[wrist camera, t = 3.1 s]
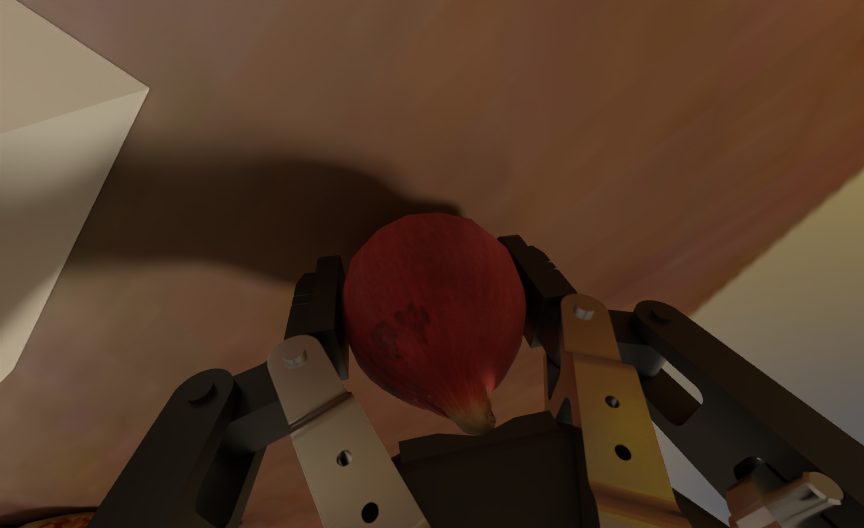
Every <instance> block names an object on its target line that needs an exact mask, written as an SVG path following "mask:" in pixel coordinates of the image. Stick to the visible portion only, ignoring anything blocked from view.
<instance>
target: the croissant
mask: <svg viewBox="0 0 864 528" xmlns="http://www.w3.org/2000/svg"><path fill="white" fill-rule="evenodd" d="M94 514H95V512H83V513H74V514H68V515H63V516H57V517H52V518H48V519H44V520H39V521H35V522H31V523H27V524H25V525H23V526H21V527H17V528H85V527H86V526H87V524H88V523H89V521H90V520H91V518H92V517H93V515H94ZM1 528H4V527H1ZM238 528H239V527H238Z"/></svg>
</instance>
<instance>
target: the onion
mask: <svg viewBox="0 0 864 528" xmlns="http://www.w3.org/2000/svg"><path fill="white" fill-rule="evenodd" d="M526 308H527V305H526V297H525V290H524V287H523V285H522V282H521V279H520V277H519V274H518V272H517V270H516V267H515V264H514V262H513V260H512V258H511V256H510V253H509V251H508V249H507V247H505V246H504V245H503V244H502V243H500V242H499V241H498V240H497V239H495V238H494V237H493V236H492V235H490V234H489V233H488V232H487V231H485V230H484V229H483V228H482V227H480V226H479V225H478V224H476V223H475V222H474V221H473V220H471V219H469V218H464V217H459V216H454V215H450V214H445V213H440V212H434V213H424V214H414V215H406V216H404V217H402V218H400V219H398V220H396V221H394V222H392V223H390V224H388V225H386V226H384V227H382V228H381V229H379V230H378V231H377V232H375V233H374V234H373V235H372V236H371V238H370V239H369V240H368V241H367V242H366V243H365V244H364V245H363V246H362V247H361V248H360V249H359V251H358V252H357V253H356V254H355V255H354V256H353V257H352V260H351V263H350V266H349V269H348V273H347V276H346V279H345V282H344V286H343V290H342V294H341V298H340V314H341V320H342V325H343V328H344V331H345V333H346V336H347V339H348V342H349V345H350V347H351V350H352V352H353V354H354V356H355V359H356V361H357V363H358V365H359V367H360V368H361V369H362V370H363V371H364V373H365V374H366V375H367V376H368V377H369V379H370V380H372V381H373V382H374V383H376V384H377V385H378V386H379V387H381V388H382V389H383V390H385V391H387V392H388V393H390V394H392V395H393V396H395V397H397V398H399V399H400V400H402V401H404V402H406V403H408V404H410V405H412V406H415V407H418V408H421V409H424V410H430V411H432V412H433V413H435V414H437V415H440V416H442V417H445V418H448V419H451V420H452V421H454V422H455V423H456V424H457V425H458V426H459V427H460V428H461V429H462V430H463V432H465V433H469V434H472V435H475V436H480V435H483V434H485V433H487V432H489V431H491V430H493V429H494V427H495V422H496V419H495V417H494V415H493V413H492V411H491V407H492V406H491V399H490V393H491V392H492V391H493V390H494V389H495V388H496V387H498V385H499V384H500V383H501V382H502V380H503V379H504V377H505V376H506V374H507V372H508V370H509V368H510V367H511V365H512V363H513V361H514V359H515V358H516V356H517V354H518V351H519V348H520V346H521V343H522V337H523V330H524V323H525V316H526Z"/></svg>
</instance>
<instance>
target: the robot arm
mask: <svg viewBox="0 0 864 528" xmlns="http://www.w3.org/2000/svg"><path fill="white" fill-rule="evenodd" d="M497 240H498V241H499V242H500V243H502V244H503V245H504V246H505V247H507V249H508V251H509V253H510V256H511V258H512V260H513V262H514V264H515V267H516V270H517V272H518V274H519V277H520V279H521V282H522V285H523V287H524V290H525V297H526V305H527V308H526V316H525V323H524V330H523V335H524V337H525V338H526V340H527V342H528V344H529V346H530V348H533V347H539V346H543V348H544V350H545V354H544V357H543V366H544V397H545V410H544V411H543V412H539V413H534V414H529V415H524V416H519V417H515V418H513V419H511V420H509V421H507V422H505V423H504V424H502V425H500V426H498V427H496V428H494V429H493V430H491V431H489V432H487V433H485V434H483V435H480V436H470V435H454V434H439V433H438V434H433V435H428V436H423V437H418V438H413V439H409V440H404V441H399V450H400V453H399V454H398V455H396V456H394V457H392V458H390V457H389V455H388V453H387V452H386V450H385V448H384V447H383V445H382V443H381V441H380V440H379V438H378V436H377V434H376V433H375V431H374V429H373V428H372V426H371V424H370V422H369V421H368V419H367V417H366V416H365V414H364V412H363V410H362V409H361V407H360V405H359V404H358V402H357V400H356V399H355V397H354V395H353V394H352V393H351V392H348V391H347V390H346V388H345V386H344V384H343V383H342V381H341V380H346V379H348V369H349V342H348V339H347V336H346V333H345V331H344V328H343V325H342V320H341V314H340V298H341V294H342V290H343V286H344V282H345V279H346V278H345V274H344V270H343V265H342V261H341V257H340V255H338V256H329V257H321V258H318V261H317V267H316V272H313V273H305V274H304V275H303V276H302V277H301V279H300V280H299V281H298V282H297V284H296V287H295V292H294V297H293V301H292V306H291V310H290V314H289V319H288V323H287V328H286V332H285V337H284V341H282V342H281V343H279V344H278V345H277V346H276V347H275V348H274V349H273V350H272V352H271V353H270V355H269V357H268V360H267V361H266V362H264V363H263V364H261V365H259V366H257V367H254V368H252V369H250V370H247V371H245V372H242V373H240V374H238V375H235V376H232V375H231V373H230V372H228V371H227V370H224V369H209V370H205V371H203V372H200V373H198V374H196V375H194V376H192V377H190V378H189V379H187V380H186V381H185V382H184V383H182V384H181V385H180V386H179V387H178V388H177V389H176V390H175V392H174V393H173V394H172V396H171V398H170V399H169V401H168V402H167V404H166V405H165V407H164V408H163V410H162V411H161V413H160V414H159V416H158V417H157V419H156V420H155V422H154V423H153V425H152V427H151V428H150V430H149V431H148V433H147V434H146V436H145V437H144V439H143V440H142V442H141V443H140V445H139V446H138V448H137V449H136V451H135V453H134V454H133V456H132V457H131V459H130V460H129V462H128V463H127V465H126V466H125V468H124V469H123V471H122V472H121V474H120V475H119V477H118V479H117V480H116V482H115V483H114V485H113V486H112V488H111V489H110V491H109V492H108V494H107V495H106V497H105V498H104V500H103V501H102V503H101V505H100V506H99V508H98V509H97V511H96V512H95V514H94V515H93V517H92V518H91V520H90V521H89V523H88V524H87V526H86V527H85V528H238V527H239V524H240V522H241V519H242V516H243V513H244V510H245V507H246V504H247V502H248V499H249V496H250V493H251V490H252V487H253V484H254V482H255V479H256V476H257V473H258V470H259V467H260V464H261V461H262V459H263V456H264V453H265V450H266V447H267V445H269V444H271V443H273V442H275V441H277V440H279V439H280V438H282V437H284V436H286V435H288V434H290V436H291V439H292V442H293V444H294V447H295V450H296V452H297V455H298V458H299V461H300V463H301V466H302V469H303V471H304V474H305V477H306V480H307V482H308V485H309V488H310V490H311V493H312V496H313V499H314V501H315V504H316V507H317V509H318V512H319V515H320V518H321V520H322V523H323V526H324V528H730V527H731V528H864V446H863V445H862V444H860V443H859V442H858V441H856V440H855V439H853V438H852V437H851V436H849V435H848V434H847V433H845V432H844V431H842V430H841V429H840V428H839V427H837V426H836V425H834V424H833V423H832V422H830V421H829V420H827V419H826V418H825V417H823V416H822V415H821V414H819V413H818V412H816V411H815V410H814V409H812V408H811V407H810V406H808V405H807V404H806V403H804V402H803V401H802V400H800V399H799V398H797V397H796V396H794V395H793V394H792V393H790V392H789V391H788V390H786V389H785V388H784V387H782V386H781V385H779V384H778V383H777V382H775V381H774V380H773V379H771V378H770V377H769V376H767V375H766V374H765V373H763V372H762V371H760V370H759V369H758V368H756V367H755V366H754V365H752V364H751V363H749V362H748V361H746V360H745V359H744V358H743V357H741V356H740V355H739V354H737V353H736V352H734V351H733V350H731V349H730V348H729V347H728V346H726V345H725V344H724V343H722V342H721V341H719V340H718V339H717V338H715V337H714V336H712V335H711V334H710V333H708V332H707V331H706V330H704V329H703V328H702V327H700V326H699V325H698V324H696V323H695V322H693V321H692V320H691V319H689V318H688V317H687V316H685V315H684V314H682V313H681V312H680V311H678V310H677V309H675V308H674V307H672V306H670V305H668V304H665V303H662V302H658V301H652V300H646V301H641V302H639V303H638V304H637V305H636V307H635V309H634V311H633V312H626V311H615V310H607V308H606V307H605V306H604V304H602V303H601V302H600V301H599V300H597V299H595V298H593V297H591V296H588V295H584V294H578V293H577V292H576V290H575V289H574V288H573V287H572V286H571V284H570V283H569V282H568V281H567V280H566V278H565V277H564V276H563V275H562V274H561V273H560V271H559V270H557V268H556V267H555V265H554V264H553V263H551V261H550V259H549V258H548V257H547V256H546V255H545V253H544V252H542V251H540V250H539V249H537V248H535V247H534V246H527V244H526V243H525V242H524V241H523V239H522V238H521V237H520V236H519V235H511V236H502V237H498V239H497ZM666 360H667V361H668V362H669V363H670V364H671V365H672V366H674V367H675V368H676V369H677V370H678V371H679V372H680V373H682V374H683V375H684V376H685V377H686V378H687V379H688V380H689V381H691V382H692V383H693V384H694V385H695V386H696V387H697V388H698V389H699V391H700V392H701V394H702V397H703V403H702V405H701V404H700V403H699V402H698V401H697V400H696V399H695V398H694V397H692V396H691V395H690V394H689V393H688V392H687V391H686V390H685V389H684V388H683V387H682V386H681V385H679V384H678V383H677V382H676V381H675V380H674V379H673V378H672V377H671V376H670V375H669V374H667V373H666V372H665V371H664V370H663V369H662V366H663V365H664V363H665V362H666ZM652 421H653V422H654V423H655V424H656V425H657V426H658V427H659V428H660V430H662V432H663V433H664V434H665V435H666V436H667V437H668V438H669V439H670V440H671V441H672V443H673V444H674V445H675V446H676V447H677V448H678V449H679V450H680V451H681V452H682V453H683V455H684V456H685V457H686V458H687V459H688V460H689V461H690V462H691V463H692V464H693V465H694V466H695V468H696V469H698V471H699V472H700V473H701V474H702V475H703V476H704V477H705V478H706V480H707V481H708V482H709V483H710V484H711V485H712V486H713V487H714V488H715V489H716V490H717V491H718V493H719V494H720V495H721V496H722V497H723V498H724V499H725V500H726V502H727V506H728V509H729V511H730V513H731V515H730V516H729V525H730V527H729V526H727V525H726V524H724V523H723V522H721V521H720V520H718V519H717V518H716V517H714V516H713V515H711V514H710V513H708V512H707V511H705V510H704V509H703V508H701V507H700V506H698V505H697V504H695V503H694V502H692V501H691V500H690V499H688V498H687V497H685V496H684V495H682V494H681V493H679V492H678V491H676V490H675V489H674V488H672V487H671V484H670V480H669V477H668V474H667V470H666V467H665V464H664V460H663V457H662V454H661V451H660V447H659V444H658V441H657V437H656V434H655V430H654V427H653V424H652Z"/></svg>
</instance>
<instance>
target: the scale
mask: <svg viewBox="0 0 864 528" xmlns="http://www.w3.org/2000/svg"><path fill="white" fill-rule="evenodd" d="M149 89H150V88H148V87H147V86H145V85H144V84H142V83H141V82H139V81H138V80H136V79H135V78H133V77H132V76H130V75H129V74H127V73H126V72H124V71H123V70H121V69H120V68H118V67H117V66H115V65H114V64H112V63H110V62H109V61H107V60H106V59H104V58H103V57H101V56H100V55H98V54H97V53H95V52H94V51H92V50H91V49H89V48H88V47H86V46H85V45H83V44H82V43H80V42H79V41H77V40H75V39H74V38H72V37H71V36H69V35H68V34H66V33H65V32H63V31H62V30H60V29H59V28H57V27H56V26H54V25H53V24H51V23H50V22H48V21H47V20H45V19H44V18H42V17H40V16H39V15H37V14H36V13H34V12H33V11H31V10H30V9H28V8H27V7H25V6H24V5H22V4H21V3H19V2H18V1H16V0H0V382H1V381H2V380H3V379H4V378H5V377H6V376H7V375H8V374H9V373H10V372H11V371H12V370H13V369H14V367H15V365H16V363H17V361H18V359H19V357H20V355H21V353H22V351H23V349H24V347H25V345H26V342H27V340H28V338H29V336H30V334H31V332H32V330H33V328H34V326H35V324H36V322H37V320H38V318H39V316H40V314H41V312H42V309H43V307H44V305H45V303H46V301H47V299H48V297H49V295H50V293H51V291H52V289H53V287H54V285H55V283H56V281H57V279H58V276H59V274H60V272H61V270H62V268H63V266H64V264H65V262H66V260H67V258H68V256H69V254H70V252H71V250H72V248H73V246H74V243H75V241H76V239H77V237H78V235H79V233H80V231H81V229H82V227H83V225H84V223H85V221H86V219H87V217H88V215H89V213H90V210H91V208H92V206H93V204H94V202H95V200H96V198H97V196H98V194H99V192H100V190H101V188H102V186H103V184H104V182H105V180H106V178H107V175H108V173H109V171H110V169H111V167H112V165H113V163H114V161H115V159H116V157H117V155H118V153H119V151H120V149H121V147H122V145H123V142H124V140H125V138H126V136H127V134H128V132H129V130H130V128H131V126H132V124H133V122H134V120H135V118H136V116H137V114H138V112H139V109H140V107H141V105H142V103H143V101H144V99H145V97H146V95H147V93H148V91H149Z"/></svg>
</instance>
